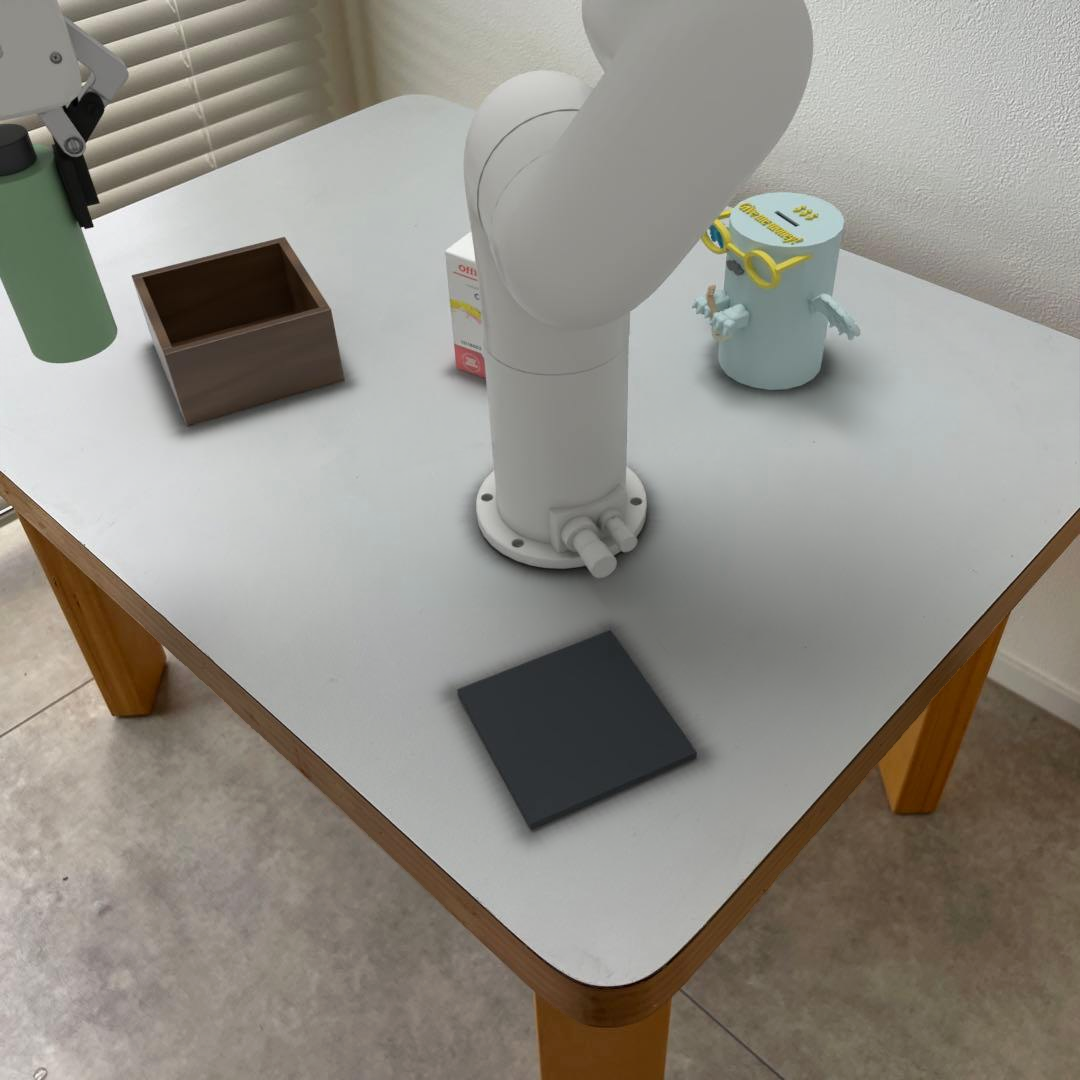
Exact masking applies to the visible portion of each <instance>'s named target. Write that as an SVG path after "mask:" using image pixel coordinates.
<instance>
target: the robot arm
mask: <svg viewBox="0 0 1080 1080" xmlns="http://www.w3.org/2000/svg"><path fill="white" fill-rule="evenodd" d="M581 17H582V18H581V20H582V25H583V29H584V33H585V35H586V38H587V40H588V43H589V46H590V49H591V50H592V52H593V54H594V56H595V58H596V60H597V62H598V63H599V65H600V67H601V69H602V71H603V74H602V76H601V77H600V79H599V80H598V82H596V84H595V86H594V87H593V86H592V85H590V84H589V83H587V82H586V81H584V80H582V79H580V78H578V77H577V76H574V75H571V74H569V73H566V72H562V71H557V70H549V69H543V70H542V69H539V70H533V71H527V72H523V73H520V74H517V75H514V76H512V77H511V78H509V79H507V80H506V81H503V82H502V83H501V84H499V85H498V86H496V88H495V89H494V90H492V92H489V94H488V95H487V96H486V98H485V99H484V100H483V101H482V103H481V104H480V105H479V107H478V109H476V112H475V114H474V116H473V118H472V119H471V121H470V122H471V123H470V125H469V128H468V131H467V136H466V138H465V144H464V151H463V180H464V181H463V182H464V189H465V191H464V192H465V198H466V204H467V212H468V219H469V224H470V231H471V232H472V240H473V247H474V254H475V262H476V270H477V279H478V288H479V298H480V309H481V320H482V332H483V346H484V361H485V372H486V378H485V381H486V393H487V394H486V395H487V406H488V414H489V415H488V416H489V417H488V418H489V426H490V427H489V428H490V439H491V451H492V463H493V470H492V471H491V472H490V473H489V474H488V475H487V476H486V478H485V479H484V480H483V481H482V484H481V485H480V487H479V488H478V491H477V495H476V498H475V511H476V512H475V513H476V520H477V524H478V527H479V529H480V531H481V534H482V536H483V537H484V538H485V539H486V541H487V542H488V543H489V544H490V545H491V546H492V547H493V548H494V549H495V550H497V551H498V552H499V553H500V554H502V555H503V556H505V557H508V558H510V559H512V560H514V561H515V562H519V563H522V564H525V565H528V566H532V567H537V568H544V569H563V570H564V569H574V568H582V567H586V568H587V570H588V571H589V572H590V574H591V575H592V576H593V577H594V578H597V579H603V578H606V577H608V576H610V575H611V574H613V572H614V571H615V570H616V568H617V565H618V560H617V558H616V556H615V555H618V554H619V553H621V552H622V553H629V552H631V551H633V550H634V549H635V548H636V547H637V545H638V541H639V540H638V538H637V537H638V535H639V534H640V533H641V531H642V529H643V527H644V524H645V522H646V519H647V517H646V516H647V508H648V503H647V493H646V490H645V487H644V483H643V482H642V481H641V480H640V478H639V477H638V475H637V474H636V473H635V472H634V471H633V470H632V469H631V468H630V467H629V466H628V465H627V459H628V458H627V455H628V453H627V450H628V449H627V448H628V407H629V406H628V404H629V402H628V400H629V397H628V396H629V354H630V352H629V351H630V334H631V332H630V331H631V330H630V327H631V326H630V325H631V323H630V322H631V312H632V311H634V310H635V309H636V308H637V307H639V306H640V305H641V304H643V303H644V302H645V301H646V300H647V299H648V298H650V296H652V295H653V294H654V293H655V292H656V291H657V290H658V289H659V288H660V287H661V286H662V285H663V284H664V282H665V281H667V279H668V278H669V277H670V276H671V275H672V274H673V272H674V271H675V270H676V269H677V268H678V266H679V265H680V264H681V263H682V262H683V261H684V259H685V258H686V257H687V256H688V254H689V253H690V252H691V251H692V249H693V248H694V247H695V246H696V245H697V244H698V243H699V241H700V240H701V237H702V236H703V235H704V234H705V232H706V231H707V232H708V230H709V228H710V226H711V225H712V224H713V223H714V221H715V220H716V219H717V218H718V217H719V215H720V214H721V213H722V212H723V211H725V209H726V208H727V207H728V205H730V203H731V202H732V201H733V199H735V197H736V196H737V194H738V193H739V192H740V191H741V189H743V188H744V186H745V185H746V183H747V182H749V180H750V179H751V177H752V176H753V175H754V174H755V173H756V171H757V170H758V169H759V168H760V166H761V165H762V164H763V163H764V161H765V160H766V159H767V157H768V156H769V155H770V154H771V152H772V151H773V150H774V148H775V147H776V145H778V142H780V140H781V139H782V137H783V135H784V134H785V133H786V132H787V130H788V128H789V127H790V125H791V123H792V121H793V119H794V117H795V115H796V114H797V111H798V109H799V107H800V104H801V102H802V99H803V96H804V94H805V91H806V89H807V86H808V82H809V79H810V74H811V70H812V65H813V57H814V56H813V55H814V32H813V26H812V20H811V17H810V13H809V9H808V7H807V5H806V2H805V0H581ZM79 63H81V64H82V65H83V66H84V67H86V68H87V69H89V70H90V74H89V76H88V77H87V79H86V81H85V83H84V84H82V74H81V69H80V65H79ZM129 75H130V73H129V71H128V68H127V66H126V64H125V62H124V60H123V59H122V58H121V57H119V56H118V55H117V54H115V53H114V52H113V51H111V50H110V48H107V47H106V46H105V45H103V44H102V43H101V42H99V41H98V40H97V39H95V38H94V37H93V36H92V35H90V34H89V33H88V32H86V31H85V30H84V29H83V28H81V27H80V26H78V25H77V24H76V23H74V22H73V21H72V20H71V19H69V18H68V17H67V16H65V15H64V13H62V10H61V7H60V4H59V2H58V0H0V122H3V121H7V120H12V119H17V118H22V117H27V116H31V115H37V116H38V118H39V119H40V121H41V122H42V124H43V125H44V126H45V127H46V128H47V130H48V132H49V133H50V134H51V137H52V140H53V144H51V147H52V148H51V149H52V151H53V152H54V155H55V158H56V162H57V165H58V168H59V170H60V173H61V176H62V179H63V182H64V184H65V187H66V190H67V193H68V195H69V198H70V201H71V204H72V207H73V209H74V212H75V215H76V218H77V220H78V223H79V226H80V228H83V229H84V230H89V229H92V228H95V226H94V223H93V220H92V215H91V214H90V211H89V207H90V206H95V205H100V200H99V197H98V194H97V191H96V187H95V185H94V182H93V179H92V176H91V173H90V171H89V167H88V164H87V161H86V158H85V156H84V153H85V152H86V150H87V142H88V141H89V139H90V138H91V136H92V134H93V133H94V131H95V129H96V128H97V125H98V124H99V122H100V121H101V119H102V117H103V115H104V113H105V109H106V107H107V106H108V105H109V104H110V103H111V102H112V101H113V99H114V98H115V97H116V96H117V95H118V93H119V91H120V90H121V89H122V88H123V86H124V85H125V83H127V81H128V79H129V78H130V77H129ZM67 105H68V106H67Z"/></svg>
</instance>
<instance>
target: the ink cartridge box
mask: <svg viewBox="0 0 1080 1080" xmlns="http://www.w3.org/2000/svg"><path fill="white" fill-rule="evenodd" d="M444 255H445V265H446V275H447V286H448V297H449V307H450V317H451V328H452V337H453V338H452V339H453V348H454V349H453V350H454V359H455V368H456V369H457V370H460V371H463V372H466V373H469V374H472V375H475V376H478V377H481V378H483V379H486V372H485V361H484V346H483V332H482V320H481V309H480V298H479V288H478V279H477V270H476V262H475V254H474V247H473V240H472V232H471V230H470V231H469V232H468V233H466V234H465V235H463V236H462V237H461V238H460V239H459V240H457V241H456V242H455V243H453V244H452V245H450V246H449V247H448V248H447V249H445V251H444Z"/></svg>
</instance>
